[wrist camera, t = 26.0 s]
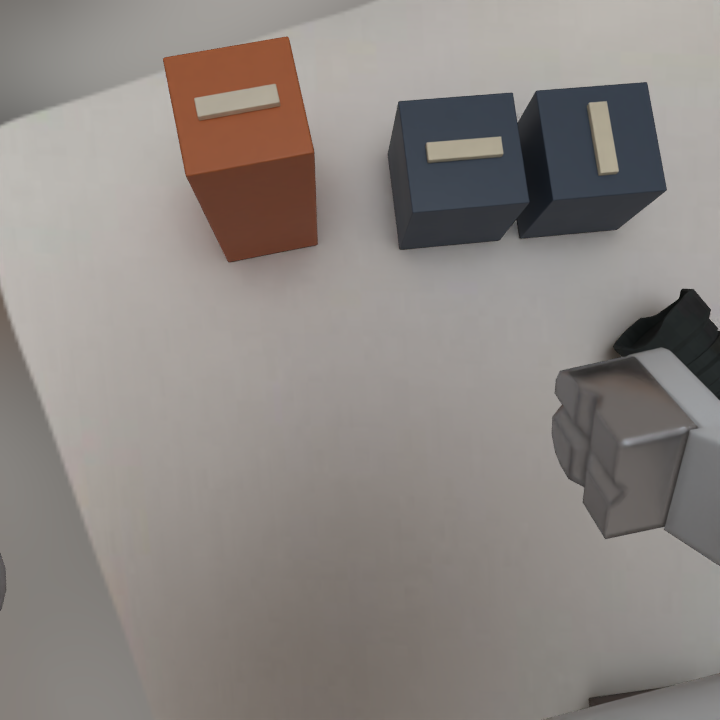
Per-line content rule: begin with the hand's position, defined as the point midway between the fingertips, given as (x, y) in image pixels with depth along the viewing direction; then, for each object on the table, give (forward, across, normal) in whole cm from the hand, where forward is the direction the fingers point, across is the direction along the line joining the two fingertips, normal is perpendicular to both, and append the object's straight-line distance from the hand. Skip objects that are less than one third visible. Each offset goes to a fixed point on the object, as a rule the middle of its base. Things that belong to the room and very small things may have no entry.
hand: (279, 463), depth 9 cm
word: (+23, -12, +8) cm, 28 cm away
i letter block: (+24, 0, +7) cm, 25 cm away
